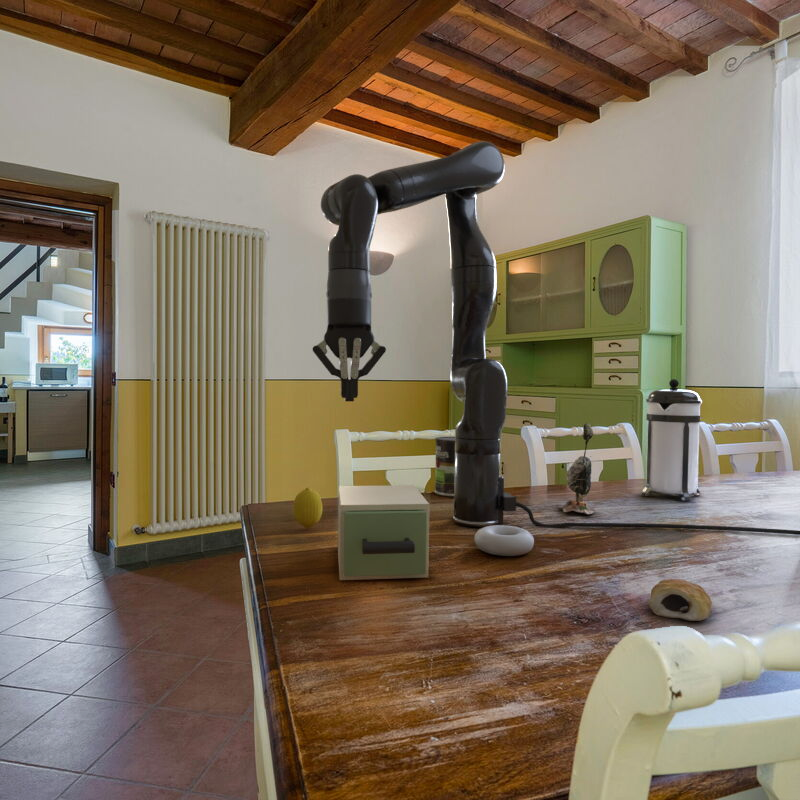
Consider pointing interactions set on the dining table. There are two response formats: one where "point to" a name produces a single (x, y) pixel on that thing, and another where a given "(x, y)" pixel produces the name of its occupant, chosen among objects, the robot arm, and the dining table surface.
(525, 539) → the donut
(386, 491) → the small bedside cabinet
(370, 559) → the drawer
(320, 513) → the lemon
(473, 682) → the dining table surface
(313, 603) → the dining table surface
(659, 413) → the coffee press
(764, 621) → the dining table surface
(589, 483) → the stone sculpture
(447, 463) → the coffee can
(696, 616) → the pastry
